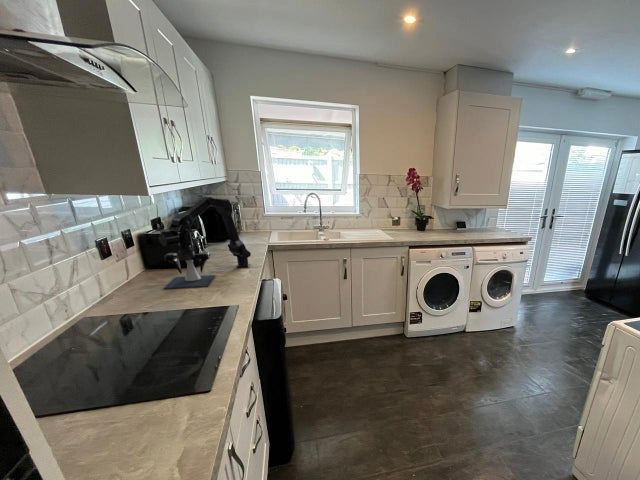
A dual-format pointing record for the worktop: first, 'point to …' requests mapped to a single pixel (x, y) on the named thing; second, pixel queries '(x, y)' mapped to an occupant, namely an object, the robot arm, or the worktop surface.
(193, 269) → the flask
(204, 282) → the mat
